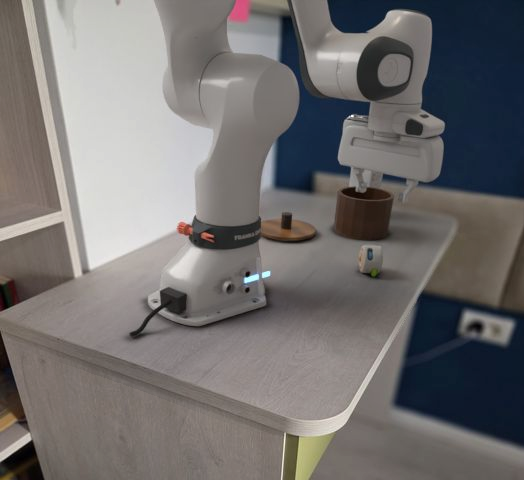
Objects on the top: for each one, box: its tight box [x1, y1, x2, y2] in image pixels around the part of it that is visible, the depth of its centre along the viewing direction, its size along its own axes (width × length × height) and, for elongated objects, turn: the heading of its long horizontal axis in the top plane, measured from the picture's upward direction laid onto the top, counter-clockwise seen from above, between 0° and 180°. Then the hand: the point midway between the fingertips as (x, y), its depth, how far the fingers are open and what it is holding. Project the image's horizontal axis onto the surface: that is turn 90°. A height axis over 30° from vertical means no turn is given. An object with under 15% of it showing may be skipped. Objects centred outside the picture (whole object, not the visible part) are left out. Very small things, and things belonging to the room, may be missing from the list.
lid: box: [261, 211, 316, 242], centre depth 123 cm, size 15×15×5 cm
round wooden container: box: [333, 186, 395, 241], centre depth 125 cm, size 14×14×10 cm
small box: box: [348, 167, 384, 189], centre depth 137 cm, size 8×6×13 cm
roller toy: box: [358, 244, 384, 277], centre depth 103 cm, size 4×6×6 cm
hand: (381, 196), depth 97 cm, fingers open, 8 cm apart
